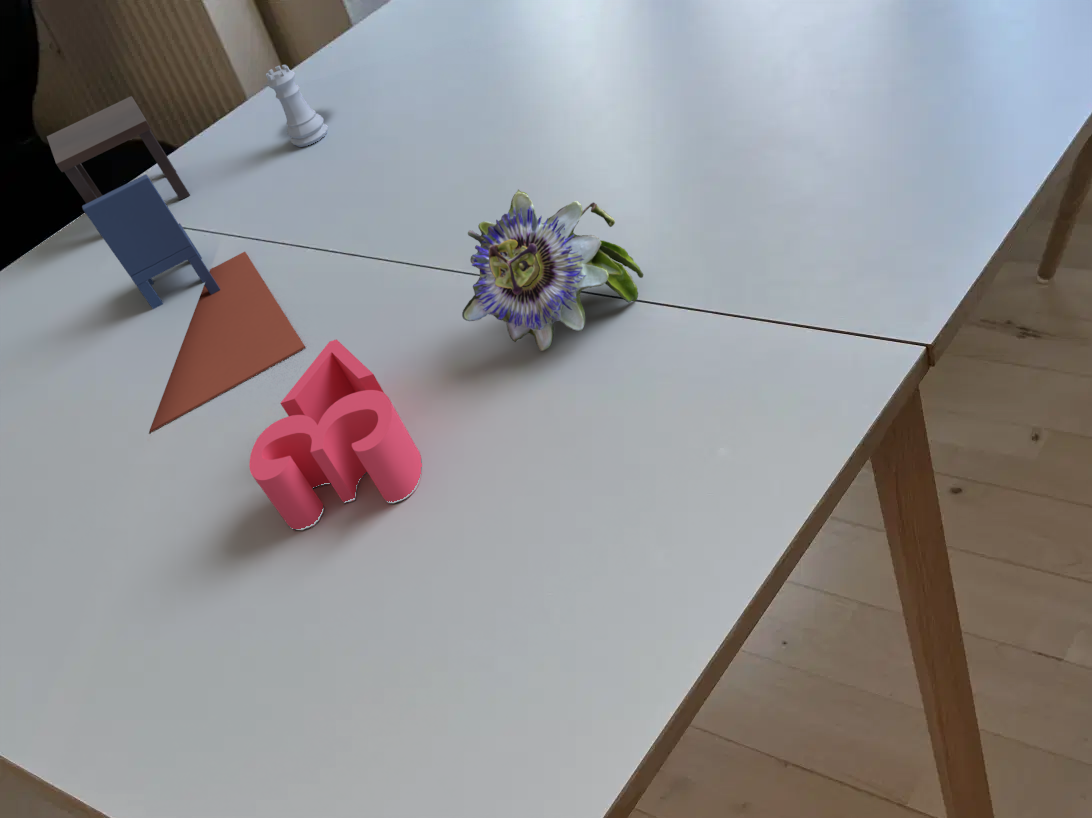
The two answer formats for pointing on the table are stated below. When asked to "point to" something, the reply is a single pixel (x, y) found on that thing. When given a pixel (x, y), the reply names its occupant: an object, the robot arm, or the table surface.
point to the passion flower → (543, 270)
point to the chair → (145, 235)
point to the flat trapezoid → (227, 340)
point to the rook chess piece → (296, 108)
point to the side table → (107, 145)
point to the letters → (333, 440)
